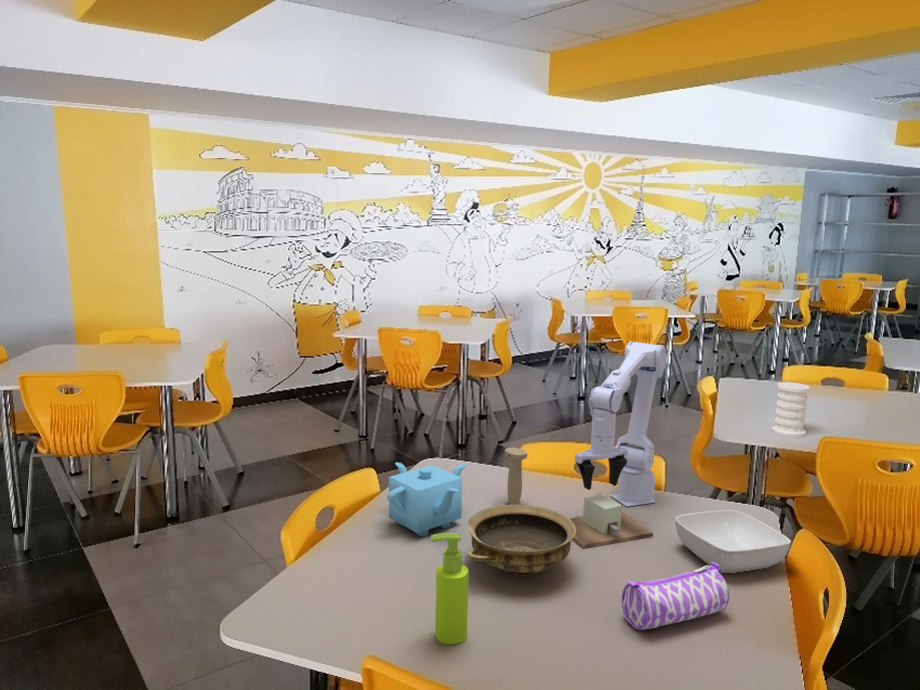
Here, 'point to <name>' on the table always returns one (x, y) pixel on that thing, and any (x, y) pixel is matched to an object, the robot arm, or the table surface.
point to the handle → (515, 474)
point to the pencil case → (675, 598)
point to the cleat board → (609, 532)
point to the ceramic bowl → (520, 538)
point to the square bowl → (732, 540)
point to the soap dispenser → (451, 592)
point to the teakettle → (425, 497)
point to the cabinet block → (601, 512)
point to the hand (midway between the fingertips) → (600, 486)
